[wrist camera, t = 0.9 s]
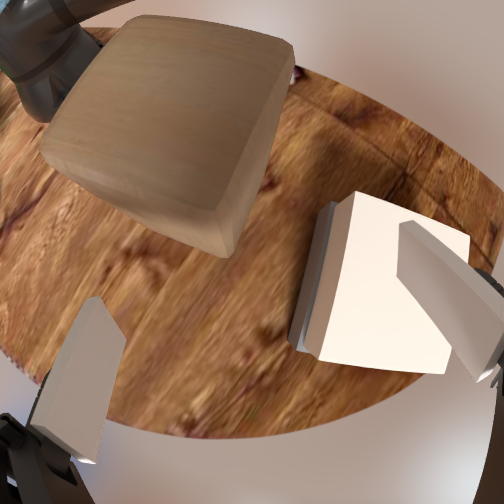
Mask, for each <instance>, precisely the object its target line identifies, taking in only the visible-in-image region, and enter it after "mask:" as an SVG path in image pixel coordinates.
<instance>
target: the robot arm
mask: <svg viewBox="0 0 504 504" xmlns="http://www.w3.org/2000/svg"><path fill="white" fill-rule="evenodd" d="M131 1H135V0H0V69H1V70H2V71H3V72H4V73H5V74H6V75H7V76H8V77H9V78H10V79H11V80H12V81H13V82H14V84H15V86H16V89H17V91H18V94H19V97H20V99H21V102H22V104H23V107H24V109H25V111H26V112H27V113H28V114H29V115H30V116H31V117H32V118H33V119H35V120H36V121H38V122H42V123H48V122H51V120H52V119H53V117H54V115H55V114H56V112H57V111H58V109H59V107H60V106H61V104H62V103H63V101H64V100H65V98H66V97H67V95H68V94H69V92H70V91H71V89H72V88H73V86H74V85H75V83H76V82H77V81H78V79H79V78H80V76H81V75H82V74H83V72H84V71H85V70H86V68H87V67H88V66H89V65H90V63H91V62H92V61H93V60H94V58H95V57H96V56H97V55H98V53H99V52H100V51H101V50H102V49H103V47H104V46H105V45H104V44H103V43H102V42H101V41H100V40H98V39H97V38H96V37H94V36H93V35H92V34H90V33H89V32H88V31H86V30H85V29H83V28H82V27H81V26H80V24H79V23H80V22H82V21H85V20H86V19H89V18H91V17H93V16H96V15H98V14H100V13H103V12H105V11H108V10H110V9H112V8H115V7H118V6H121V5H123V4H126V3H129V2H131ZM396 277H397V278H398V279H399V280H400V281H401V283H402V284H403V285H404V286H405V287H406V289H407V290H408V291H409V292H410V293H411V295H412V296H413V297H414V298H415V300H416V301H417V302H418V303H419V305H420V306H421V307H422V308H423V310H424V311H425V312H426V313H427V315H428V316H429V317H430V319H431V320H432V321H433V323H434V324H435V325H436V326H437V328H438V329H439V330H440V332H441V333H442V335H443V336H444V337H445V339H446V340H447V341H448V343H449V344H450V345H451V347H452V348H453V350H454V351H455V352H456V354H457V355H458V357H459V358H460V360H461V361H462V362H463V364H464V366H465V367H466V368H467V370H468V371H469V373H470V374H471V376H472V377H473V379H474V381H475V382H476V383H477V382H479V381H480V380H482V379H483V378H485V377H486V376H488V375H489V374H490V373H491V372H492V371H493V369H494V367H495V366H496V364H497V363H498V364H499V365H500V366H501V369H500V370H499V372H498V373H497V375H496V377H495V378H494V380H493V381H492V384H491V388H493V387H494V385H495V384H496V382H497V381H498V386H497V399H496V407H495V415H494V421H493V427H492V433H491V438H490V443H489V448H488V453H487V458H486V461H485V465H484V469H483V473H482V476H481V480H480V483H479V486H478V489H477V492H476V495H475V498H474V501H473V504H504V288H503V287H502V286H501V285H500V284H499V283H497V281H496V280H495V279H494V278H493V277H492V276H490V275H489V274H488V273H487V272H485V271H483V270H481V269H479V268H475V269H473V268H472V267H470V266H469V265H468V264H467V263H466V262H465V261H464V260H463V259H461V258H460V257H459V256H458V255H457V254H456V253H454V252H453V251H452V250H451V249H450V248H448V247H447V246H446V245H445V244H444V243H442V242H441V241H440V240H439V239H437V238H436V237H435V236H434V235H432V234H431V233H430V232H429V231H427V230H426V229H425V228H423V227H422V226H421V225H419V224H418V223H417V222H416V221H414V220H410V221H406V222H402V223H399V239H398V261H397V276H396ZM125 344H126V338H125V337H124V335H123V334H122V332H121V330H120V329H119V327H118V326H117V324H116V323H115V321H114V319H113V318H112V316H111V315H110V313H109V311H108V310H107V308H106V306H105V305H104V303H103V301H102V299H101V298H100V296H95V297H91V298H87V299H86V300H85V302H84V304H83V306H82V308H81V309H80V311H79V313H78V315H77V317H76V319H75V321H74V323H73V325H72V327H71V329H70V331H69V333H68V335H67V337H66V339H65V341H64V343H63V345H62V347H61V349H60V351H59V353H58V355H57V358H56V360H55V362H54V364H53V367H52V368H51V369H50V370H49V372H48V373H47V374H46V376H45V377H44V380H43V382H42V384H41V389H39V392H38V394H37V395H38V397H36V399H35V402H34V404H33V407H32V410H31V413H30V415H29V418H28V421H27V424H26V426H25V427H24V426H23V425H22V424H20V423H19V422H18V421H17V420H16V419H15V418H14V417H12V416H11V415H10V414H9V413H3V414H1V415H0V504H95V503H94V501H93V499H92V497H91V496H90V494H89V492H88V490H87V488H86V486H85V485H84V482H83V480H82V479H81V477H80V474H79V472H78V470H77V469H76V466H75V465H74V463H73V462H71V461H70V457H71V455H72V456H73V457H75V458H76V459H78V460H79V461H81V462H85V463H92V464H97V458H98V453H99V448H100V442H101V438H102V433H103V428H104V424H105V419H106V415H107V410H108V406H109V402H110V398H111V394H112V390H113V386H114V382H115V379H116V375H117V371H118V368H119V364H120V361H121V357H122V354H123V350H124V347H125ZM7 476H8V477H10V478H12V479H14V480H15V481H16V483H17V487H15V486H13V485H12V484H9V483H8V482H7Z"/></svg>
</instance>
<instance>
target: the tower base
mask: <svg viewBox="0 0 504 504" xmlns="http://www.w3.org/2000/svg"><path fill="white" fill-rule="evenodd" d="M338 204H339V203H337V202H334V201H330V202H329V203H328V204H327V205H326V206H325V207H323V208H322V209H321V210H320V211H319V212H318V215H317V220H316V225H315V229H314V234H313V238H312V243H311V247H310V252H309V256H308V261H307V265H306V269H305V273H304V277H303V281H302V286H301V290H300V294H299V298H298V302H297V305H296V309H295V313H294V317H293V321H292V325H291V328H290V332H289V336H288V339H287V341H288V342H289V343H290V344H291V345H292V346H293V348H294V349H295V350H296V351H301V352H306V353H310V352H309V351H308V350H307V349H306V348H305V347H304V346H303V344H304V341H305V337H306V333H307V330H308V326H309V322H310V318H311V314H312V310H313V306H314V302H315V298H316V294H317V290H318V286H319V281H320V277H321V273H322V268H323V264H324V259H325V255H326V250H327V245H328V240H329V235H330V230H331V225H332V220H333V215H334V209H335V206H336V205H338Z"/></svg>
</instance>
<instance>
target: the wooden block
mask: <svg viewBox="0 0 504 504" xmlns="http://www.w3.org/2000/svg"><path fill="white" fill-rule="evenodd" d="M294 66H295V57H294V51H293V46H292V45H291V44H289V43H288V42H286V41H284V40H283V39H280V38H277V37H274V36H270V35H267V34H263V33H259V32H256V31H252V30H247V29H243V28H239V27H234V26H229V25H224V24H219V23H214V22H208V21H202V20H195V19H187V18H179V17H170V16H157V15H141V16H137V17H135V18H133V19H131V20H129V21H127V22H126V23H125V24H124V25H123V26H122V27H121V28H120V29H119V31H118V32H117V33H116V34H115V35H114V36H113V37H112V38H111V39H110V40H109V42H108V43H107V44H106V45H105V46H104V47H103V49H102V50H101V51H100V52H99V53H98V55H97V56H96V57H95V58H94V60H93V61H92V62H91V63H90V65H89V66H88V67H87V68H86V70H85V71H84V72H83V74H82V75H81V76H80V78H79V79H78V81H77V82H76V83H75V85H74V86H73V88H72V89H71V91H70V92H69V94H68V95H67V97H66V98H65V100H64V101H63V103H62V104H61V106H60V107H59V109H58V111H57V112H56V114H55V115H54V117H53V119H52V120H51V122H50V124H49V126H48V127H47V129H46V131H45V133H44V134H43V136H42V139H41V143H40V148H39V150H40V152H41V154H42V156H43V157H44V159H45V160H46V162H47V163H48V165H50V166H51V167H53V168H54V169H56V170H57V171H59V172H60V173H62V174H63V175H65V176H66V177H68V178H69V179H71V180H72V181H74V182H75V183H77V184H78V185H80V186H81V187H83V188H85V189H86V190H88V191H89V192H91V193H92V194H94V195H95V196H97V197H99V198H100V199H102V200H103V201H105V202H106V203H108V204H109V205H111V206H113V207H114V208H116V209H117V210H119V211H121V212H122V213H124V214H125V215H127V216H129V217H130V218H132V219H133V220H135V221H137V222H138V223H140V224H141V225H143V226H145V227H146V228H148V229H150V230H152V231H155V232H157V233H160V234H162V235H165V236H167V237H169V238H172V239H174V240H177V241H179V242H182V243H184V244H187V245H189V246H192V247H194V248H197V249H199V250H202V251H204V252H207V253H209V254H212V255H214V256H217V257H220V258H229V257H230V256H231V255H232V254H233V253H234V251H235V248H236V246H237V243H238V241H239V238H240V236H241V233H242V231H243V228H244V226H245V223H246V221H247V218H248V216H249V213H250V211H251V208H252V206H253V203H254V201H255V198H256V196H257V193H258V191H259V188H260V186H261V184H262V181H263V178H264V174H265V170H266V167H267V163H268V159H269V156H270V152H271V148H272V145H273V141H274V138H275V134H276V130H277V127H278V123H279V120H280V116H281V112H282V109H283V105H284V102H285V98H286V94H287V91H288V87H289V84H290V80H291V77H292V73H293V70H294Z"/></svg>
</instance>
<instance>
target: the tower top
mask: <svg viewBox="0 0 504 504" xmlns="http://www.w3.org/2000/svg"><path fill="white" fill-rule="evenodd" d="M410 220H414V221H416V222H417V223H418V224H419V225H421V226H422V227H423V228H425V229H426V230H427V231H429V232H430V233H431V234H432V235H434V236H435V237H436V238H437V239H439V240H440V241H441V242H442V243H444V244H445V245H446V246H447V247H448V248H450V249H451V250H452V251H453V252H454V253H456V254H457V255H458V256H459V257H460V258H461V259H463V260H464V261H465V262H466V263H467V264H468V255H469V243H470V236H468V235H466V234H464V233H462V232H460V231H458V230H455V229H453V228H451V227H449V226H446V225H444V224H442V223H439V222H437V221H435V220H432V219H430V218H427V217H425V216H422V215H420V214H417V213H415V212H412V211H410V210H407V209H405V208H402V207H400V206H397V205H394V204H392V203H389V202H386V201H383V200H381V199H378V198H375V197H372V196H369V195H367V194H364V193H361V192H358V191H355V192H353V193H352V194H351V195H349V196H348V197H347V198H345V199H344V200H343V201H341V202H340V203H339V204H338V205H336V206H335V209H334V215H333V220H332V225H331V230H330V235H329V240H328V245H327V250H326V255H325V259H324V264H323V268H322V273H321V277H320V281H319V286H318V290H317V294H316V298H315V302H314V306H313V310H312V314H311V318H310V322H309V326H308V330H307V333H306V337H305V341H304V344H303V346H304V347H305V348H306V349H307V350H308V351H309V352H310V353H311V354H312V355H314V356H315V357H316V358H317V359H318V360H321V361H327V362H334V363H340V364H347V365H354V366H362V367H369V368H378V369H387V370H396V371H407V372H420V373H435V374H444V373H445V370H446V367H447V363H448V360H449V356H450V353H451V349H452V347H451V345H450V344H449V343H448V341H447V340H446V339H445V337H444V336H443V335H442V333H441V332H440V330H439V329H438V328H437V326H436V325H435V324H434V323H433V321H432V320H431V319H430V317H429V316H428V315H427V313H426V312H425V311H424V310H423V308H422V307H421V306H420V305H419V303H418V302H417V301H416V300H415V298H414V297H413V296H412V295H411V293H410V292H409V291H408V290H407V289H406V287H405V286H404V285H403V284H402V283H401V281H400V280H399V279H398V278H397V277H396V276H397V261H398V239H399V223H402V222H406V221H410Z"/></svg>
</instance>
